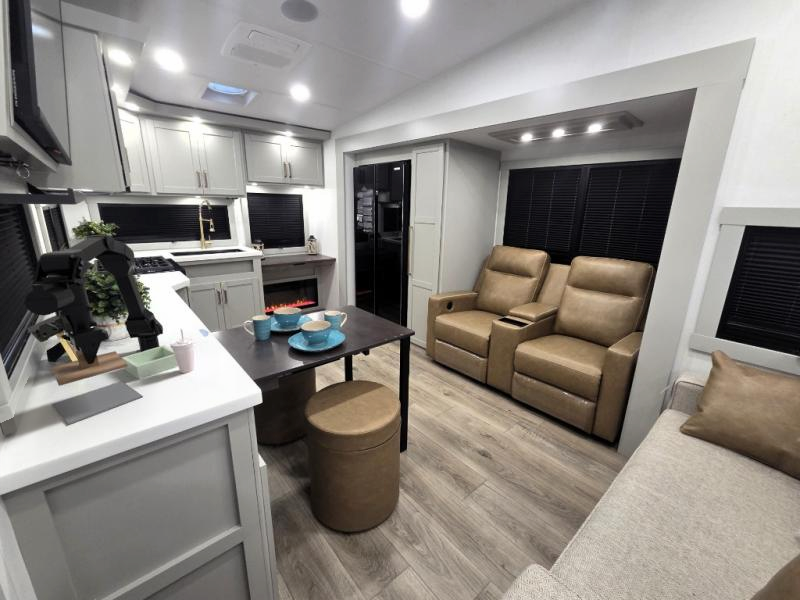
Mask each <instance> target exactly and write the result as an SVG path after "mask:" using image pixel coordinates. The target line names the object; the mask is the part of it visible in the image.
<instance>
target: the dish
mask: <svg viewBox="0 0 800 600" xmlns="http://www.w3.org/2000/svg"><path fill="white" fill-rule="evenodd" d="M159 346H160V345H159ZM121 358H122V359H123V360H124V361H125V362H126V363H127V365H128V367H125V368H123V370H124V371H126V372H127V373H129V374H130V375H132V376H133V377H135V378H136V379H137V380H143V379H146V378H149V377H153V376H155V375H158V374H161V373H163V372H168V371H169V370H173V369H175V368H176V369H177V367H178V368H179V366H178V363H177V360H176V358H175V355H174V352H173V349H172V348H171V347H168V346H165V345H161V346H160V347H157V348H153V349H150V350H146V351H143V352H139V353H138V352H136V353H133V354H130V355H126V356H123V357H121Z"/></svg>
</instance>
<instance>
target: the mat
mask: <svg viewBox="0 0 800 600" xmlns="http://www.w3.org/2000/svg"><path fill="white" fill-rule="evenodd" d="M143 396H144V395H143V394H141V393H139V392H138V391H137V390H135V389H134V388H133V387H131V386H130V385H129V384H127V383H125V382H124V381H123V380H121V381H118V382H114V383H111V384H109V385H105V386H102V387H99V388H96V389H93V390H89V391H88V392H85V393H81V394H77V395H75V396H72V397H69V398H66V399H63V400H60V401H57V402H53V403H51V406H52V405H53V406H52V407H53V408H54V410H55V411H56V410H57V411H56V412H57V413H58V414H59V416H61V418H62V419H63V420H64V421H65V422H66V424H68V426H71V425H72V424H76V423H78V422H81V421H84V420H86V419H88V418H92V417H94V416H97V415H99V414H102V413H105V412H107V411H110V410H112V409H115V408H118V407H120V406H123V405H125V404H126V405H127V404H129V403H131V402H134V401H136V400H139V399H142V398H143Z"/></svg>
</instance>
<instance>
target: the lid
mask: <svg viewBox="0 0 800 600" xmlns="http://www.w3.org/2000/svg"><path fill="white" fill-rule="evenodd" d="M75 355H76V359H77V360H74V361H69V362H66V363H62V364H57V365H54V366H51V367H50V368H51V371H52V373H53V376H54V378H55V381H56V382H57V385H58V386H59V387H60V386H63V385H67V384H72V383H74V382H78V381H82V380H85V379H89V378H93V377H96V376H99V375H103V374H106V373H110V372H114V371H117V370H121V369H124V368H125V367H128V365H127V363H126V362H125V361H124V360H123V359H122V357H121V356H120V355H119V354H118V353H117V351H110V352H107V353H102V354H97V355H96V358H95V361H94V363H92V364H88V363H87V361H86V360H85V358H84V356H83V354H82V352H81V350H80V351H77V350H75Z"/></svg>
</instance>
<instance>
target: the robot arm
mask: <svg viewBox="0 0 800 600" xmlns="http://www.w3.org/2000/svg"><path fill="white" fill-rule="evenodd" d="M94 259H95V260H97V262H98V261H99V263H100V265H101V267H102V268H103V270H105V271H106V272H108V273H109V274H110V275H112V276H113V278H114V281H115V283H116V286H117V289H118V290H119V294H120V297H121V300H123V303H124V305H125V308H126V311H127V313H128V314H127V316H126V317H127V318H126V320H125V321H124V325H125V329H126V331H127V333H128V335H129V338H130V339H134V338H136V339H137V342H138V346H139V349H137V350H136V353H139V352H143V351H146V350H150V349H153V348H157V347H160V342H159V338H158V337H159V336H160V335H163V334H164V331H163V330H164V328H163V325H162V324H161V323H160V321H158V319H157V318H156V316H155V315H154V313H153V312H152V311H150V310H149V309H148V308H146V306H145V304H144V302H143V298H142V296H141V293H140V290H139V287H138V285H137V281H136V279H135V276H134V274H133V268H134V265H135V263H136V260H135V253H134V251H133V249H132V248H131V247H130V246H128V244H126V243H123V242H122V241H118V240H116V239H114V238H113V237H112V236H111V235H108V234H102V235H100V234H97V235H94V234H93V235H92V234H91V235H89V236H87V237H86V239H84V240H82V241H80V242H78V243H76V244H74V245H73V246H71V247H69V248H67V249H64V250H55V251H49V252H45V253H42V254H41V255H40V256H39V259H38V261H37V265H36V269H35V273H34V279H33V282H32V283H33V284H32V285H31V288H32V291H30V292H28V294H26V295H25V298H24V301H23V303H24V306H25V308H26V309H27V310H28V311H30V312H31V313H32V314H35V315H36V316H37V315H38V316H48V315H51V314H55V315H54V316H51V317H48V318H46V319H44V320H41V321H39V322H38V323H35V324H32V325H31V326H29V327H28V328H27V331H28V332H29V333H30V334H31V335H32V336H33V337H34V339H36V340H37V341H38V342H39V343H44V342H46V341H49V339H50V338H52V337H54V336H56V335H59V334H62V332H63V333H64V334H63V335H60V338H62V339H64V340H66V341H67V342H68V343H69V344H70V345H72V346H73V347H74V348H75V349H76V350H75V351H80V350H81V352H82V354H83V356H84V358H85V360H86V361H87V363H88V364H92V363H94V361H95V358H96V355H98V351H99V350H100V347H101V345H102V342H103V341H104V342H105V341H107V340H109V339H110V337H109V333H108V331H107V330H106V329H104V328H101V327H99V326H98V325H97V323H98V322H97V321H96V320H94V317H93V313H92V311H94V307H93V306H92V305H91V304H90V301H89V297H88V294H87V290H86V285H85V283H86V282H88V278H86V277H85V276H84V275H85V273H86V272H87V270H88V269H89V268H90V267H89V264H88V263H89V262H91V261H92V260H94Z"/></svg>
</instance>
